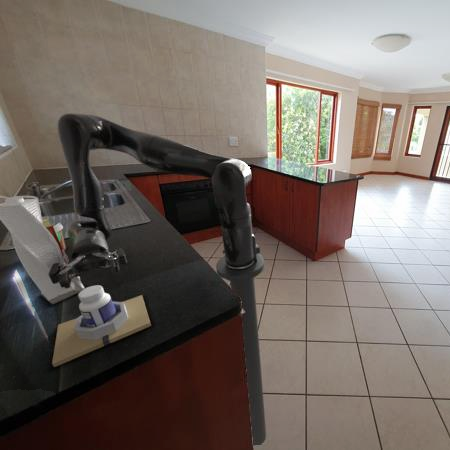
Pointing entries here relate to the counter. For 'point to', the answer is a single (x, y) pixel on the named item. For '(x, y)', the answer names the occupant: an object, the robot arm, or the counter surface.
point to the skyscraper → (36, 246)
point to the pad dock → (99, 331)
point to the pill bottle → (96, 306)
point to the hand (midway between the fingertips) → (91, 277)
